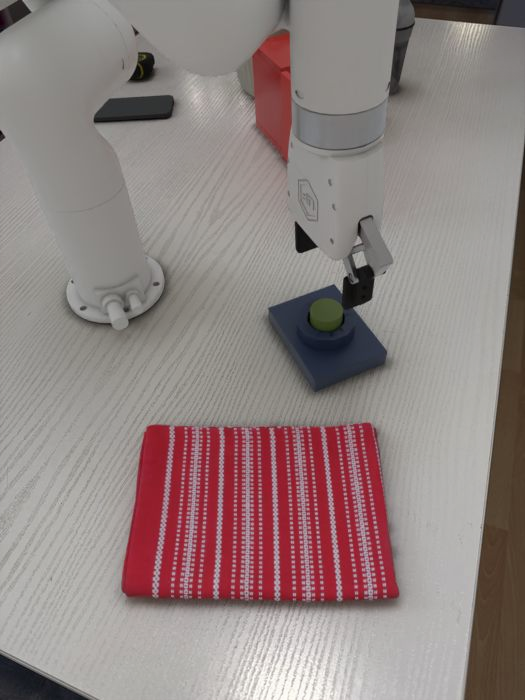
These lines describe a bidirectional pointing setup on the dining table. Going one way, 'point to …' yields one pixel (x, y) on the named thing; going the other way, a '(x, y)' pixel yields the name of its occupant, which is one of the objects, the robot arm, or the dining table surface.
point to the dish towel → (260, 515)
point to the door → (286, 112)
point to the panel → (326, 340)
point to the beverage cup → (401, 41)
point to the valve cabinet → (270, 85)
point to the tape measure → (143, 65)
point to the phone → (135, 108)
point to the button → (326, 315)
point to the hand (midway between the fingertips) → (331, 274)
